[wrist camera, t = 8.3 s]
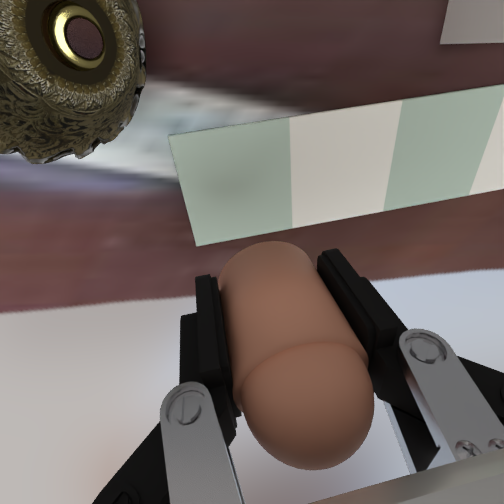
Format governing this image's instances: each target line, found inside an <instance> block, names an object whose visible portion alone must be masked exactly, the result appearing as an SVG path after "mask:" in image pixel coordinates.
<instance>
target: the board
mask: <svg viewBox="0 0 504 504" xmlns="http://www.w3.org/2000/svg"><path fill="white" fill-rule="evenodd" d="M168 140H169V143H170V147H171V151H172V155H173V159H174V162H175V166H176V170H177V174H178V178H179V181H180V185H181V189H182V193H183V197H184V200H185V204H186V208H187V212H188V215H189V219H190V223H191V227H192V231H193V234H194V238H195V242H196V246H201V245H206V244H212V243H217V242H222V241H228V240H233V239H238V238H244V237H249V236H254V235H260V234H265V233H270V232H276V231H281V230H286V229H292V228H297V227H302V226H308V225H313V224H318V223H324V222H329V221H334V220H340V219H345V218H350V217H356V216H361V215H366V214H372V213H377V212H382V211H388V210H393V209H398V208H404V207H409V206H414V205H420V204H425V203H430V202H436V201H441V200H446V199H452V198H457V197H462V196H468V195H473V194H478V193H484V192H489V191H494V190H500V189H504V84H499V85H493V86H486V87H480V88H473V89H467V90H460V91H454V92H447V93H441V94H434V95H428V96H421V97H414V98H408V99H401V100H395V101H388V102H382V103H375V104H369V105H362V106H356V107H349V108H343V109H336V110H330V111H323V112H317V113H310V114H304V115H297V116H291V117H284V118H278V119H271V120H264V121H258V122H251V123H245V124H238V125H232V126H225V127H219V128H212V129H206V130H199V131H193V132H186V133H180V134H173V135H168Z"/></svg>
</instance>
